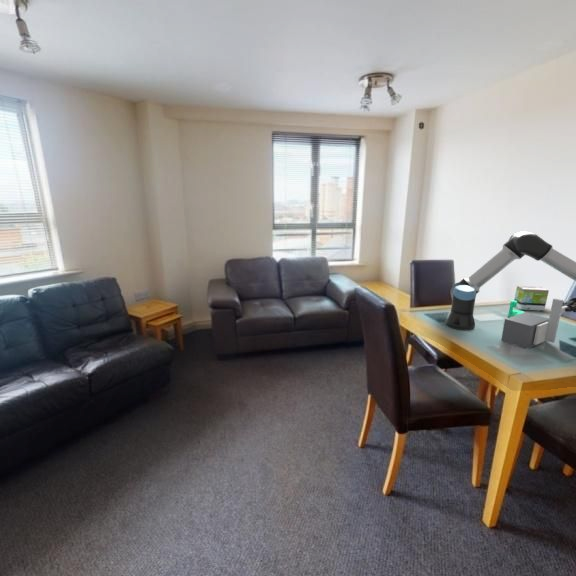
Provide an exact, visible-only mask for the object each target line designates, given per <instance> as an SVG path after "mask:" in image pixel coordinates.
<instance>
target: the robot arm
mask: <svg viewBox="0 0 576 576" xmlns="http://www.w3.org/2000/svg"><path fill="white" fill-rule="evenodd" d="M525 256H527V257H530V258H531V259H533V260H534V261H537V262H538V261H542V262H543V263H544V264H546V265H548V266H549V267H551V268H553V269H554V270H556V271H558V272H560V273H561V274H563V275H564V276H565V277H566V276H567V278H570V279H571V280H573V281H574V282H576V261H574V260H573V259H571V258H570V257H568V256H566V255H564V254H563V253H561V252H559V251H558V250H556V249H554V247H553V245H552V244H551V243H548V242H547V241H545V240H544V239H543V238H542V237H541V236H539V235H537V234H535V233H533V232H530V231H527V230H526V231H525V230H521V231H517V232H514V233H513V234H511V236H510V237H509V239H508V241H506V242H505V243H504V244H503V245H502V249H501V250H499V252H498V253H497V254H494V255H493V256H492V258H490V259H489V260H488V261H487V262H486V263H484V264H483V265H482V266H481V267H480V268H479V269H477V270H476V271H475V272H473V274H471V275H470V276H469V277H464V278H463V279H461V280H460V281H459V282H456V283H454V284H453V285H452V286H451V288H450V293H449V294H450V297H451V307H450V308H451V309H450V312H449V314H448V315H447V316H448V317H447V318H446V321H445V324H446V326H448V327H450V328H452V329H456V330H462V331H471V330H474V329H475V328H476V322H475V318H474V317H475V316H474V311H475V305H476V304H475V302H476V297H477V294H478V293H480V289H481V288H482V287H483V286H484V285H485V284H487V283H488V282H489V281H491V279H493V278H495V276H497V275H498V274H499V273H500V272H501V271H503V270H504V269H505V268H507V267H508V266H509V265H510V264H512V263H513V262H514V261H515V260H521V259H522V258H523V257H525ZM569 312H572V313H576V296H575V297H572V298H571V299H569V300H566V301H565V300H563V305H562V310H561V314H564V313H569ZM561 314H560V315H561Z"/></svg>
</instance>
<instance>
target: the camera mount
mask: <svg viewBox="0 0 576 576" xmlns="http://www.w3.org/2000/svg"><path fill="white" fill-rule="evenodd" d="M516 306H517V301H514V299H513V300H512V299H510V303H509V308H508V315H507V316H508V318H509V317H512V316H515V315H518V314H521V313H524V312H525V311H523V310H519V309H518V310H516V308H517V307H516ZM514 308H515V309H514Z"/></svg>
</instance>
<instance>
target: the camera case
mask: <svg viewBox="0 0 576 576" xmlns="http://www.w3.org/2000/svg"><path fill="white" fill-rule="evenodd" d="M545 322H549V317H544V316H541V315H537V314H532V313H528V312H525V311H524V313H521V314H518V315H515V316H512V317H509V316H508V317H506V318H504V322H503V327H502V334H501V340H500V341H503V342H505V343H509V344H512V345H513V346H517V347H520V348H523V349H526V350H527V349H530V348H532V347H535V345H534V344H533V343H534V338H535V332H536V327H537V325H539V324H542V323H545Z"/></svg>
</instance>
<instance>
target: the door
mask: <svg viewBox="0 0 576 576" xmlns="http://www.w3.org/2000/svg"><path fill="white" fill-rule="evenodd" d="M563 301H564V300H563V299H560V298H559V299H558V298H552V302H551V303H552V304H551V308H550V313H549V317H548V318H549V322H545V323H542V324H539V325H537V327H536V332H535V338H534V343H533V344H534V346H537V345H539V344H541V343H544V342H548V343H552V344H553V343H555V341H556V337H557V332H558V328H559V323H560V319H561V310H562V305H563Z"/></svg>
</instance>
